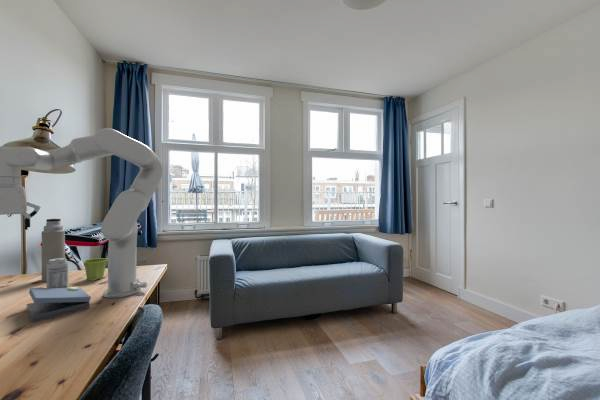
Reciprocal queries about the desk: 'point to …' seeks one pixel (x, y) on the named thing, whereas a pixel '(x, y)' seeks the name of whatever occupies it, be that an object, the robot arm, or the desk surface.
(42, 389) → the desk surface
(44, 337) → the desk surface
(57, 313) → the tribrach base
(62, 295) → the plate
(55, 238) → the thermos bottle
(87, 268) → the plant pot
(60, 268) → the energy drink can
